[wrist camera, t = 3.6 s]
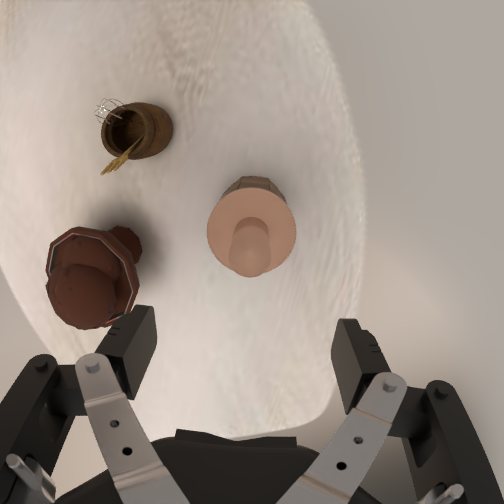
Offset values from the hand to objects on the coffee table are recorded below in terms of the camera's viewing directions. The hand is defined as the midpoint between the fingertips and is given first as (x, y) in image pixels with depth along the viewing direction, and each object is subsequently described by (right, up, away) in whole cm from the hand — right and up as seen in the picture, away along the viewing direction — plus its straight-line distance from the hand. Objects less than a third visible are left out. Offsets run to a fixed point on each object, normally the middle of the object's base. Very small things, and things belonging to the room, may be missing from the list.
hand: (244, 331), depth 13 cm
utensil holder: (-11, +17, +19) cm, 27 cm away
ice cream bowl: (-16, +4, +24) cm, 29 cm away
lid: (0, +5, +13) cm, 14 cm away
